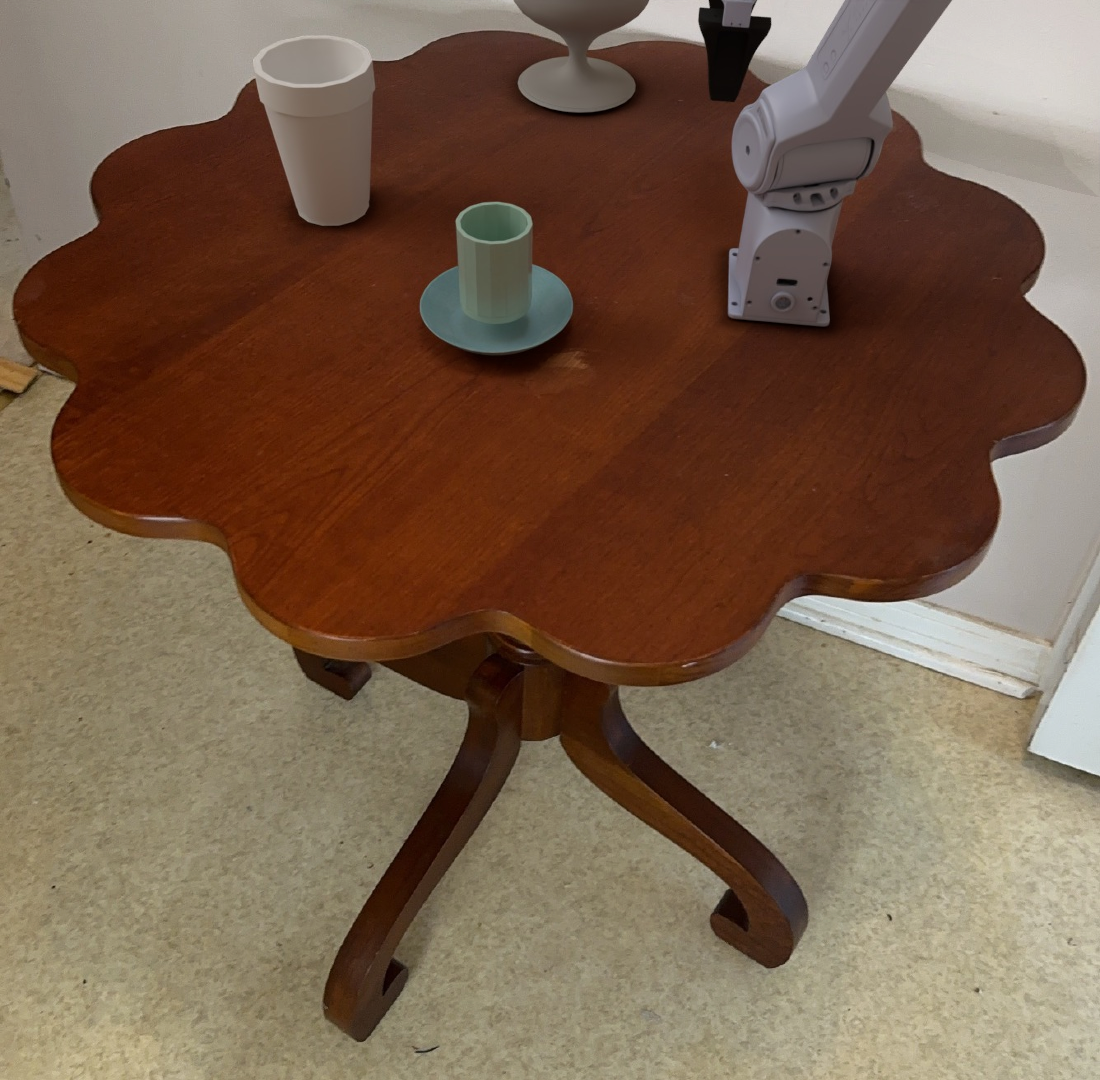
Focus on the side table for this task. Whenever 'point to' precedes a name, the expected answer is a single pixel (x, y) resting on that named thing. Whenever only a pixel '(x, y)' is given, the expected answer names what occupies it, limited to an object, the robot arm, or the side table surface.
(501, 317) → the glass
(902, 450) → the side table surface
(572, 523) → the side table surface
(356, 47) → the foam cup
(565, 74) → the chalice
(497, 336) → the saucer
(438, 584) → the side table surface
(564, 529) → the side table surface
